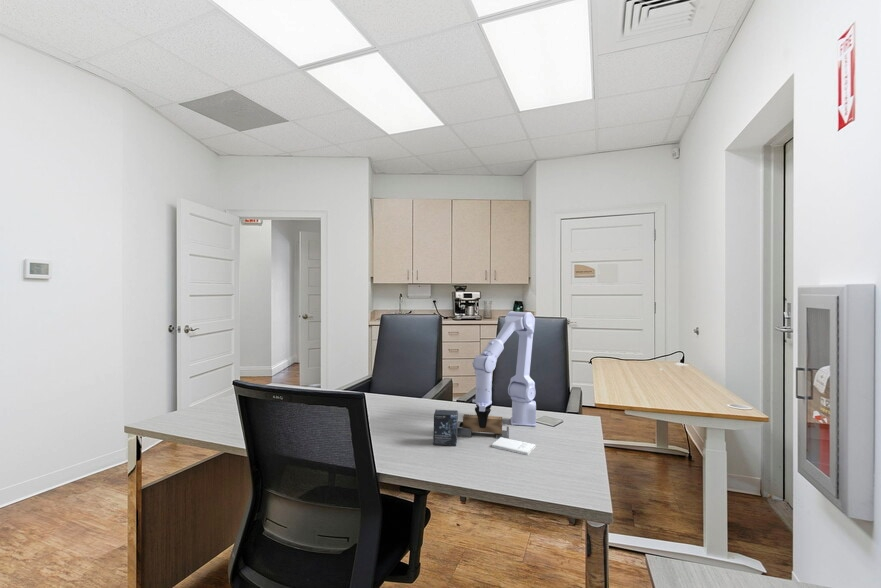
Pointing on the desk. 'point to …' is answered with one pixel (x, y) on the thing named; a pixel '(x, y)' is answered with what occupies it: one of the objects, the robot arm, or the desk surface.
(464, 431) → the bracket
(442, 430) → the box
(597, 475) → the desk surface
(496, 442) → the external hard drive
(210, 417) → the desk surface
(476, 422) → the wooden block
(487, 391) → the robot arm
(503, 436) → the ledge bracket
